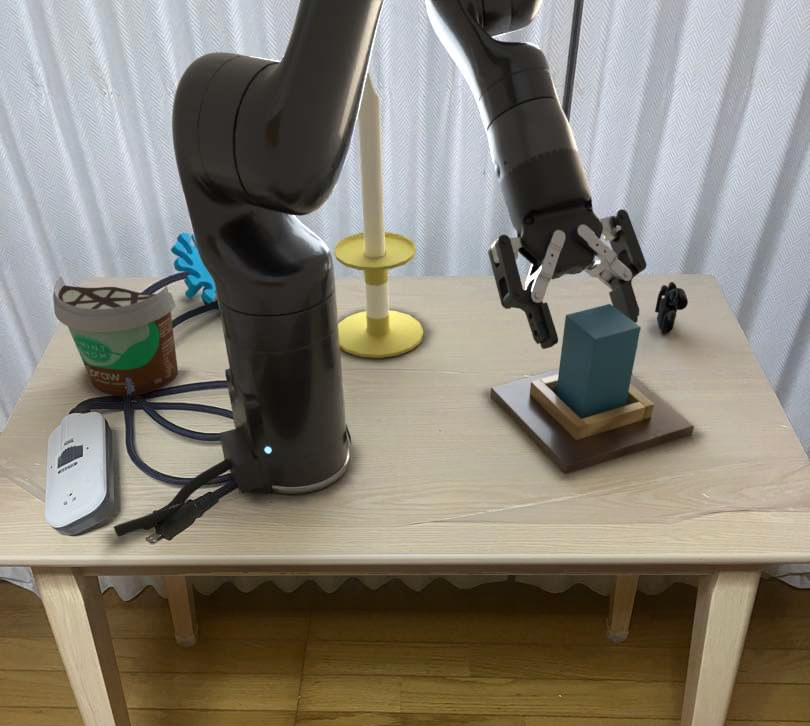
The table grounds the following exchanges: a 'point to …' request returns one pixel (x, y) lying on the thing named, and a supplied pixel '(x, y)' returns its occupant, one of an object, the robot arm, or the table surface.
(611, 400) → the post block
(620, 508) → the table surface
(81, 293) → the food container
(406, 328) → the candle
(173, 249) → the blue branched piece
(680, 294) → the wireless earbuds
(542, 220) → the robot arm
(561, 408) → the square wooden socket base
